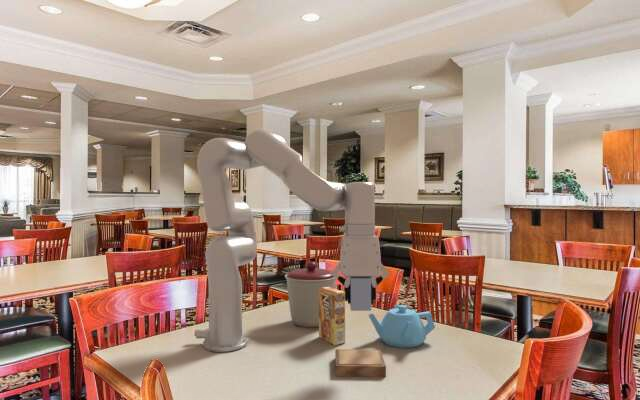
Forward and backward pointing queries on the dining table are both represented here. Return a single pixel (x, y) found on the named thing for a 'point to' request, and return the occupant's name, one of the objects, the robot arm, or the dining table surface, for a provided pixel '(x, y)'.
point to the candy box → (332, 315)
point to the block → (360, 293)
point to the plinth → (360, 363)
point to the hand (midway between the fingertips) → (360, 301)
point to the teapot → (403, 327)
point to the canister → (307, 293)
